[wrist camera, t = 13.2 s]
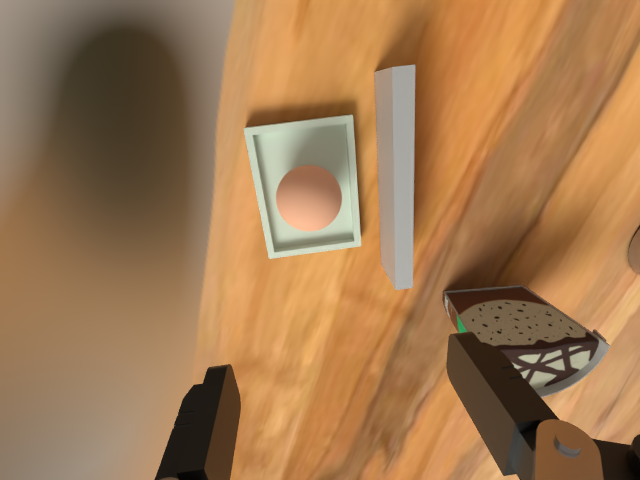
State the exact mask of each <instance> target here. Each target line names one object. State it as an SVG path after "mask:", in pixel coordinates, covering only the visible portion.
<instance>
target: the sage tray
mask: <svg viewBox="0 0 640 480" xmlns="http://www.w3.org/2000/svg"><path fill="white" fill-rule="evenodd" d="M243 129H244V134H245V139H246V144H247V149H248V154H249V159H250V164H251V169H252V174H253V180H254V185H255V190H256V195H257V200H258V205H259V210H260V215H261V220H262V225H263V230H264V236H265V241H266V246H267V251H268V256H269V259H272V258H279V257H287V256H294V255H301V254H308V253H315V252H323V251H330V250H337V249H344V248H351V247H359V246H361V235H360V219H359V203H358V187H357V171H356V155H355V139H354V123H353V115H351V114H349V115H340V116H332V117H324V118H316V119H308V120H300V121H292V122H283V123H275V124H267V125H259V126H251V127H245V128H243ZM303 165H315V166H319V167H322V168H324V169H326V170H327V171H329V172H330V173H331V174H332V175H333V176H334V177H335V178H336V180H337V181H338V183H339V186H340V189H341V193H342V204H341V208H340V211H339V213H338V215H337V217H336V218H335V219H334V220H333V221H332V222H331V223H330V224H329V225H328V226H326V227H325V228H323V229H320V230H317V231H301V230H298V229H296V228H294V227H292V226H290V225H289V224H288V223H287V222H286V221H285V220H284V219H283V218H282V216H281V215H280V213H279V211H278V208H277V204H276V192H277V188H278V185H279V183H280V181H281V180H282V178H283V177H284V176H285V175H286V174H287V173H288V172H289V171H291V170H292V169H294V168H296V167H299V166H303Z"/></svg>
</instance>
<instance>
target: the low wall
mask: <svg viewBox="0 0 640 480" xmlns="http://www.w3.org/2000/svg"><path fill="white" fill-rule="evenodd" d="M374 76H375V104H376V132H377V161H378V189H379V217H380V246H381V265H382V267H383V268H384V270H385V272H386V274H387V276H388V277H389V279H390V281H391V283H392V285H393V286H394V288H395V290H400V289H407V288H413V229H414V140H415V64H414V65H405V66H397V67H391V68H387V69H383V70H380V71H376V72H374Z"/></svg>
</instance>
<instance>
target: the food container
mask: <svg viewBox="0 0 640 480" xmlns="http://www.w3.org/2000/svg"><path fill="white" fill-rule="evenodd" d="M443 303H444V306H445V310H446V312H447V313H448V315H449V317H450V319H451V320H452V322H453V324H454V326H455V328H456V329H457V331H458V333H463V332H470V331H471V332H473V333H474V334H475V335H476V336H477V338H478V339H479V340H480V341H481V343H482V344H483V345H486V344H491V345H492V346H494V347H495V348H497V349H498V350H500V351H501V352H503V353H504V354H505V355H506V356H507V358H508V359H509V360H510V361H511V362H512V364H513V365H514V367H515V368H517V370H518V371H519V372H520V373H521V374H522V376H523V378H525V379H526V380H527V382H528V383H529V384H530V385H531V386H532V388H533V389H534V390H535V391H536V392H537V394H538V395H539V396H540V397H545V396H549V395H552V394H555V393H558V392H560V391H562V390H564V389H567V388H569V387H571V386H572V385H574V384H575V383H577V382H579V381H580V380H581V379H583V378H584V377H585V376H587V375H588V374H589V373H590V372H591V371H592V370H593V369H594V368H595V367H596V366H597V365H598V364H599V363H600V362H601V360H602V359H603V357H604V356H605V354H606V353H607V351H608V349H609V347H610V345H609V344H608V343H606V339H605V338H604V337H603V336H602V335H600V334H599V333H598V332H597V331H596V330H593V332H591V331H589V330H588V329H586V328H585V327H583V326H582V325H580V324H579V323H577V322H576V321H575V320H573V319H572V318H570V317H569V316H567V315H566V314H564V313H563V312H561V311H560V310H559V309H557V308H556V307H554V306H553V305H551V304H550V303H548V302H547V301H545V300H544V299H543V298H541V297H540V296H538V295H537V294H535V293H534V292H532V291H531V290H529V289H528V288H527V287H525V286H524V285H515V286H503V287H491V288H479V289H467V290H455V291H443Z"/></svg>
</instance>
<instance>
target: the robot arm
mask: <svg viewBox="0 0 640 480" xmlns="http://www.w3.org/2000/svg"><path fill="white" fill-rule="evenodd" d="M628 261H629V264H630V266H631V268H632V269H633V270H634V271H635V272H636V273H638V274H640V228H639V229H638V231H637V233H636V234H635V236H634V237H633V239H632V242H631V244H630V247H629V252H628ZM447 373H448V376H449V379H450V382H451V384H452V385H453V387H454V389H455V391H456V393H457V394H458V396H459V398H460V400H461V401H462V403H463V405H464V407H465V408H466V410H467V412H468V414H469V416H470V417H471V419H472V421H473V423H474V424H475V426H476V428H477V430H478V431H479V433H480V435H481V437H482V439H483V440H484V442H485V444H486V446H487V447H488V449H489V451H490V453H491V455H492V456H493V458H494V460H495V462H496V463H497V465H498V467H499V469H500V470H501V472H502V474H503V476H507V475H513V474H517V476H518V477H519V479H520V480H640V434H639V435H637V436H636V437H635V438H634V440H633V442H632V444H631V445H626V444H620V443H614V442H607V441H601V440H596V439H592V438H590V437H589V436H588V435H587V434H586V433H585V432H584V431H582V430H581V429H579V428H578V427H576V426H574V425H572V424H570V423H568V422H565V421H562V420H559V418H558V417H557V416H556V415H555V414H554V413H553V412H552V410H551V409H550V408H549V407H548V406H547V404H546V403H545V402H544V401H543V400H542V398H541V397H540V396H539V395H538V394H537V392H536V391H535V390H534V389H533V388H532V386H531V385H530V384H529V383H528V382H527V380H526V379H525V378H523V376H522V374H521V373H520V372H519V371H518V370H517V368H515V367H514V365H513V364H512V362H511V361H510V360H509V359H508V358H507V356H506V355H505V354H504V353H503V352H501V351H500V350H498V349H497V348H495V347H494V346H492V345H491V344H486V345H483V344H482V343H481V341H480V340H479V339H478V338H477V336H476V335H475V334H474V333H473V332H471V331H470V332H463V333H455V334H450V336H449V341H448V353H447ZM240 410H241V402H240V394H239V390H238V387H237V383H236V380H235V376H234V372H233V369H232V366H231V365H230V364H228V365H221V366H214V367H209V368H208V369H207V372H206V375H205V378H204V382H203V384H197V385H193V387H192V388H191V389H190V390H189V392H188V393H187V394H186V396H185V397H184V399H183V401H182V404H181V407H180V409H179V412H178V416H177V418H176V421H175V424H174V429H173V430H172V432H171V435H170V438H169V441H168V444H167V447H166V449H165V452H164V455H163V458H162V461H161V464H160V466H159V469H158V472H157V475H156V477H155V480H230V476H231V469H232V463H233V456H234V450H235V443H236V437H237V430H238V424H239V418H240Z"/></svg>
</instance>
